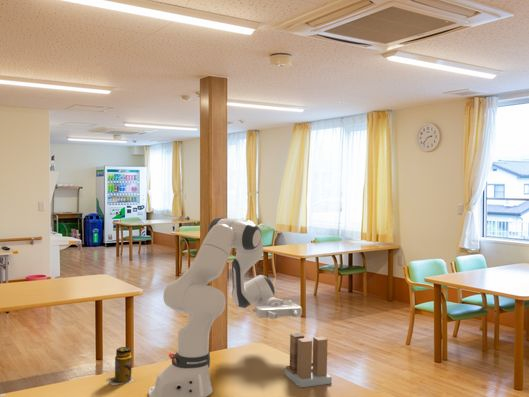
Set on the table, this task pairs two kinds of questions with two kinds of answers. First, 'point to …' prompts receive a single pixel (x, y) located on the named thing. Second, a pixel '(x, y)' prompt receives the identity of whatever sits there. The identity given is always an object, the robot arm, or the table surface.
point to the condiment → (122, 367)
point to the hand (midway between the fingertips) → (285, 315)
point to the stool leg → (294, 350)
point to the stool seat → (310, 363)
